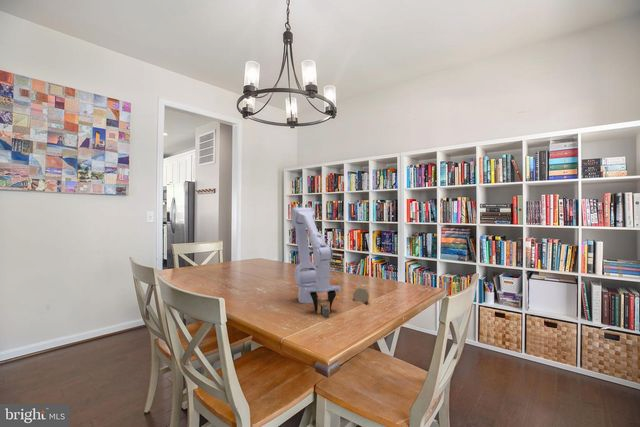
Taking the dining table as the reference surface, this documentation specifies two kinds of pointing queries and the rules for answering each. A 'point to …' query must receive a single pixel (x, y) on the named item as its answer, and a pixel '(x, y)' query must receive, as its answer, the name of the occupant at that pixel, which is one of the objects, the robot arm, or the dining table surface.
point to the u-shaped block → (322, 303)
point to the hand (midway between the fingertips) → (322, 309)
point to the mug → (361, 295)
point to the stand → (324, 311)
